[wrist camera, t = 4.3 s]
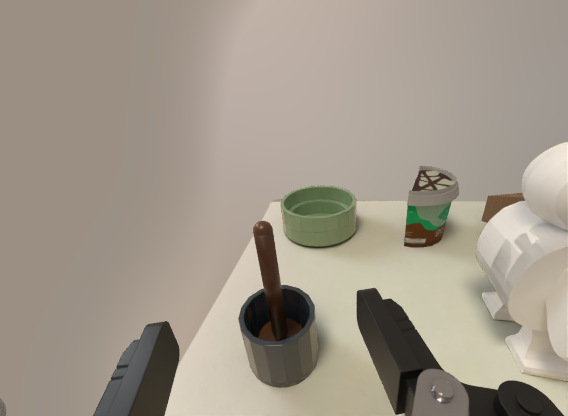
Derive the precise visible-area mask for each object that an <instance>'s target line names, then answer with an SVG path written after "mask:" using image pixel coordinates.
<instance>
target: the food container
mask: <svg viewBox="0 0 568 416" xmlns="http://www.w3.org/2000/svg"><path fill="white" fill-rule="evenodd" d="M458 195H459V188H458V182H457V179H456V177H455V176H454V175H453V174H452V173H450V172H448V171H446V170H443V169H439V168H435V167H428V166H420V167H419V174H418V177H417V179H416V181H415V184H414V187H413V189H412V191H409V196H408V203H407V205H408V209H407V220H406V231H405V243H404V246H408V247H426V246H432V245H434V244H436V243H438V242H439V241H440V240H441V238H442V234H443V231H444V227H445V223H446V220H447V216H448V212H449V209H450V205H451V202H452V201H453V200H454V199H456V198H457V196H458Z"/></svg>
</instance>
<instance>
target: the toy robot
mask: <svg viewBox="0 0 568 416" xmlns="http://www.w3.org/2000/svg"><path fill="white" fill-rule="evenodd" d="M522 193H523V196H524V199H525V201H519V202H517V203H514V204H512V205H510V206H507V207H504V208H503V209H502V210H501V211H499V212H498V213H497V214H496V215H495V216H494V217H493V218H492V219H490V220H489V222H488V223H487V225H486V226H485V228H484V229H483V231H482V233H481V235H480V237H479V240H478V243H477V248H476V257H477V261H478V263H479V264H480V266H481V268H482V269H483V271H484V273H485V274H486V276H487V277H488V279H489V281H490V282H491V284H492V286H493V287H494V289H495V291H496V292H483V293H482V296H481V297H482V299H483V300H484V302H485V304H486V306H487V308H488V310H489V312H490V314H491V316H492V317H493V319H495V320H507V321H515V322H517V323H518V324H520V325H522V328H521V329H520V331H519V332H518V333H517V334H515V335H509V336H507V338H506V339H505V342H506V344H507V346H508V348H509V350H510V352H511V353H512V355H513V357H514V359H515V361H516V363H517V365H518V367H519V369H520V370H521V372H522V373H523V374H529V375H535V376H540V377H546V378H551V379H557V380H562V381H568V142H565V143H562V144H559V145H557V146H554V147H552V148H550V149H548V150H546V151H545V152H543V153H542V154H540V155H539V156H538V157H536V158H535V159H534V160H533V161H532V162H531V163H530V164H529V165H528V166H527V168H526V170H525V172H524V174H523V178H522Z"/></svg>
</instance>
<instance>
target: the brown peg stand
mask: <svg viewBox="0 0 568 416" xmlns="http://www.w3.org/2000/svg"><path fill="white" fill-rule="evenodd" d="M253 233H254V238H255V244H256V249H257V254H258V260H259V265H260V270H261V276H262V281H263V286H264V291H265V297H266V302H267V307H268V313H269V318H270V321H269V322H268V323H267V324H265V325H264V326H263V328H262V329H261V331H260V333H259V336H258V338H259V339H262V340H264V341H282V340H284V339H287V338H290V337H292V336H295V335H296V334H297V333H298V332H299V331H300V330H302V327H301V326H300V324H298V323H297V322H296V321H294V320H292V319H289V318H286V315H285V308H284V302H283V295H282V289H281V282H280V275H279V269H278V262H277V256H276V249H275V242H274V236H273V229H272V226H271V225H270V223H268V222H266V221H260V222H258V223H256V224H255V226H254V228H253Z"/></svg>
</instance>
